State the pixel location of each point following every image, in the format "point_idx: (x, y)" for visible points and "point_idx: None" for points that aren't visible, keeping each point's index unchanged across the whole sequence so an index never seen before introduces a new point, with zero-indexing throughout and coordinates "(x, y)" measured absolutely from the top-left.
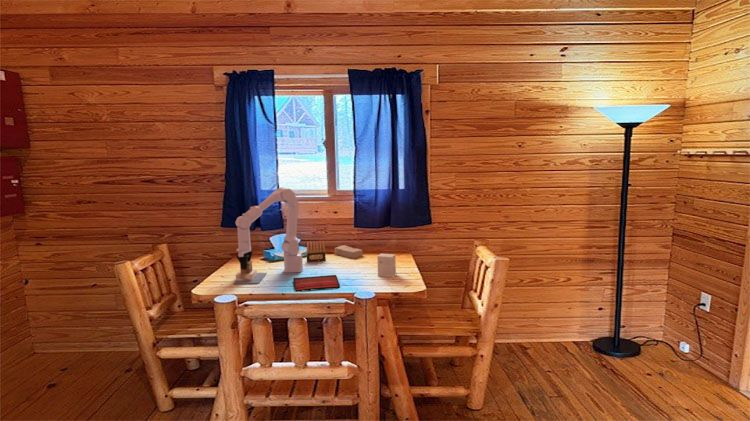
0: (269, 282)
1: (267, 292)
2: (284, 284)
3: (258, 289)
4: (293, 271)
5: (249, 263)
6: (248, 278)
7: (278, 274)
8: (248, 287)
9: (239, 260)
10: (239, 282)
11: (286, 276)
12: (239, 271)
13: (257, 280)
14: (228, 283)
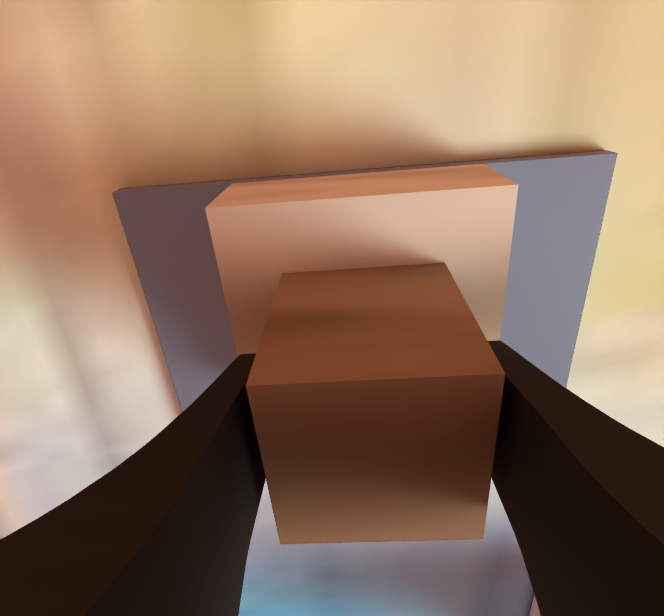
0: (260, 508)
1: None
2: None
3: (60, 477)
4: (539, 613)
5: (291, 541)
6: None
7: (503, 523)
8: (80, 389)
9: (74, 516)
10: (162, 264)
11: (431, 578)
12: (405, 206)
13: None
14: (147, 86)
